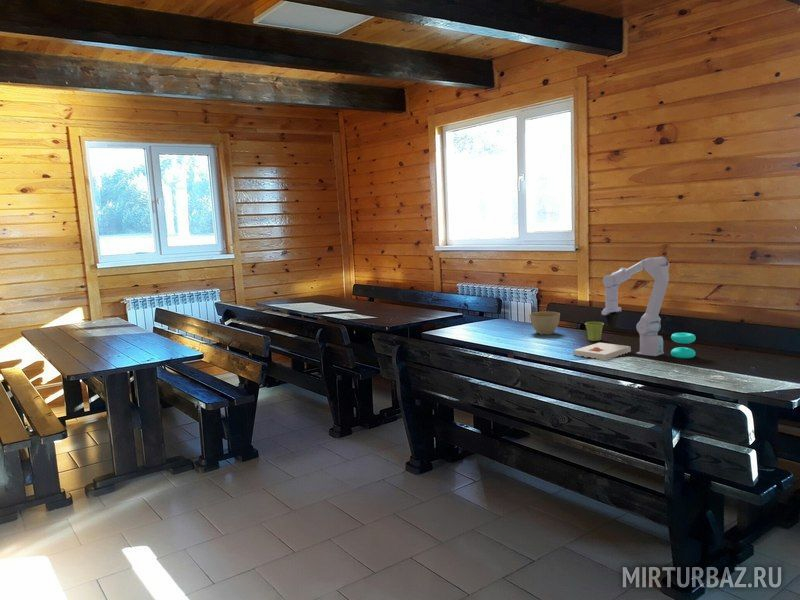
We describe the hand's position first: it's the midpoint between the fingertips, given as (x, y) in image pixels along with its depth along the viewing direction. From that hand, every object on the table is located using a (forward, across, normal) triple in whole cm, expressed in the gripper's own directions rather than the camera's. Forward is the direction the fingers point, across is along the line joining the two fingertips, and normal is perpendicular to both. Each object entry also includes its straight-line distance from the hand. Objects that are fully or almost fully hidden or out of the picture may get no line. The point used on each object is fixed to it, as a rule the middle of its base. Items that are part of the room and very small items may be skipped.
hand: (611, 328), depth 302 cm
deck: (+9, +15, +4) cm, 18 cm away
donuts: (+10, -1, +34) cm, 35 cm away
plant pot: (+10, -11, -16) cm, 22 cm away
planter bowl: (+10, -12, -47) cm, 49 cm away
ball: (+7, +20, +4) cm, 22 cm away
